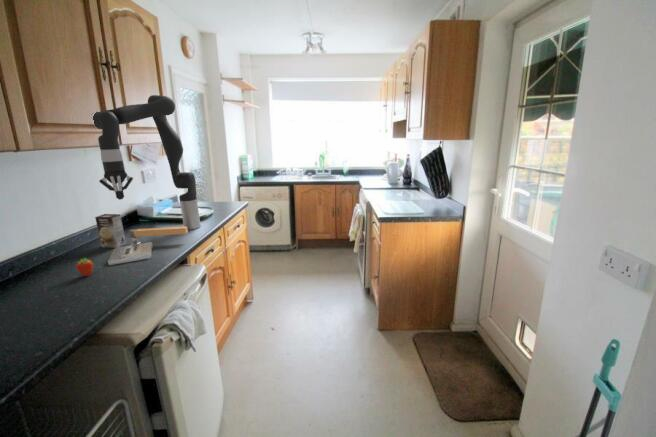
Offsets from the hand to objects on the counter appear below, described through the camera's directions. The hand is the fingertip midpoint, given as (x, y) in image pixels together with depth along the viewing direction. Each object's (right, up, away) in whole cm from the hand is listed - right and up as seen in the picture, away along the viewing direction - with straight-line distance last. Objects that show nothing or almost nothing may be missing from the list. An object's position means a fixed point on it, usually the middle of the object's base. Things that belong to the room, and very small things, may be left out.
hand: (120, 199), depth 138 cm
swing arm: (+6, -17, +20) cm, 27 cm away
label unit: (+1, -26, +7) cm, 27 cm away
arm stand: (-6, -22, +20) cm, 31 cm away
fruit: (-5, -32, -13) cm, 35 cm away
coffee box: (-17, -23, +21) cm, 35 cm away
